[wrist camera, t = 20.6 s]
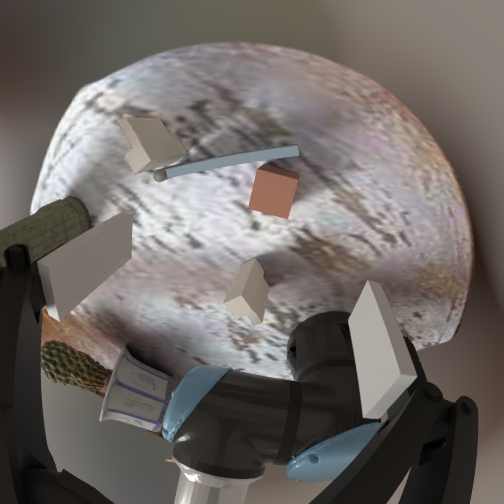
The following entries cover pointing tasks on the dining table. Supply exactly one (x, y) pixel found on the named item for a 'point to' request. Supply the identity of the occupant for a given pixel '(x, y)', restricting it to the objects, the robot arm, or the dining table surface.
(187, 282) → the dining table surface
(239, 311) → the doorframe
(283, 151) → the door
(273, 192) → the reddish brown block
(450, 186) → the dining table surface
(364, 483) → the robot arm
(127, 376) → the potted plant
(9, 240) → the thermos
